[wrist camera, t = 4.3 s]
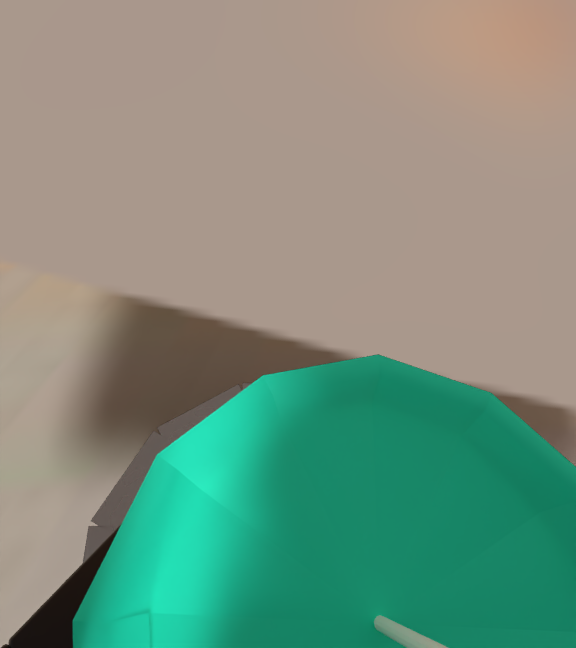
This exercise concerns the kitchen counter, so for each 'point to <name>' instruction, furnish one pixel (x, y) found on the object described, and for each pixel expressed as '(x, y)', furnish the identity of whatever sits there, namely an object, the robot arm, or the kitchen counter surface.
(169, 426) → the ring holder
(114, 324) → the kitchen counter surface
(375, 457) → the candle
